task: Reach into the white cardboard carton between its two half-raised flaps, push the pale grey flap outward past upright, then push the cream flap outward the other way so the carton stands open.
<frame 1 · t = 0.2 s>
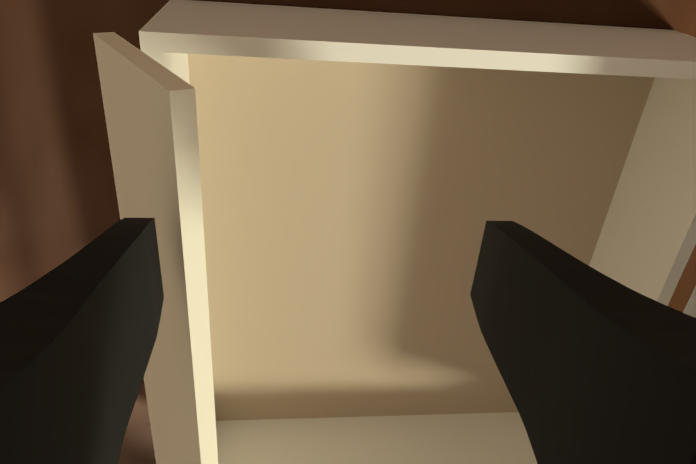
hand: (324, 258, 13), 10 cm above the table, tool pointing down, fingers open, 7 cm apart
carton: (402, 256, 25), on the table
cream flap: (174, 388, 17), point 8 cm above the table, hinge at 60.0°
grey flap: (684, 377, 20), point 8 cm above the table, hinge at 60.0°
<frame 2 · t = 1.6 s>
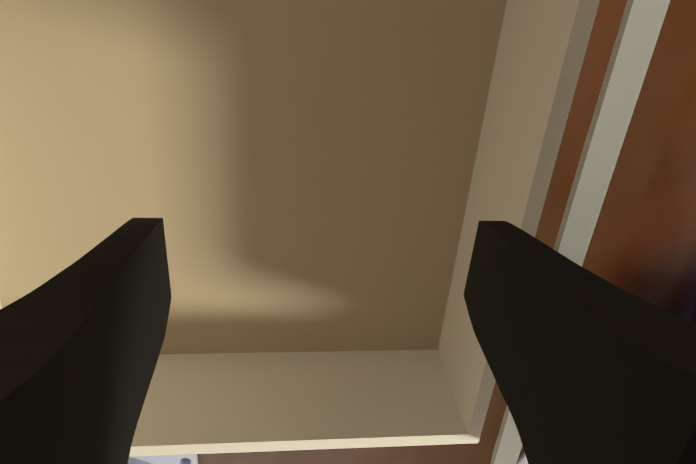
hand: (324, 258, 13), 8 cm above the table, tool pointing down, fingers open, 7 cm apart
carton: (230, 128, 19), on the table
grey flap: (567, 248, 14), point 8 cm above the table, hinge at 60.0°, touching gripper
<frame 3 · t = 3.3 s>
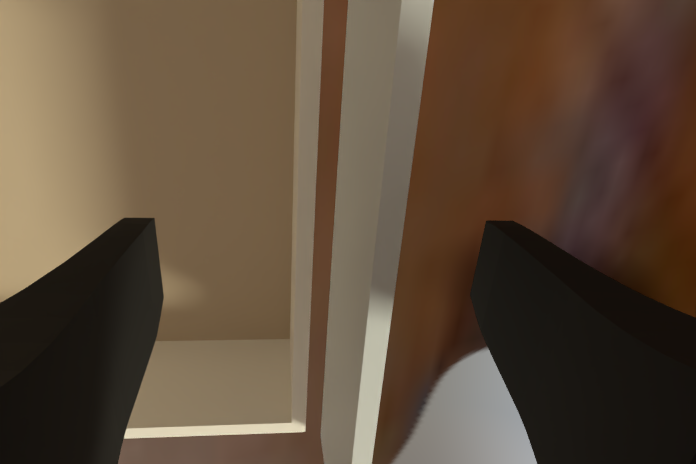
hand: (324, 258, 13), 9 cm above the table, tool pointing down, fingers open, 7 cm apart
carton: (36, 113, 19), on the table
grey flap: (360, 233, 14), point 8 cm above the table, hinge at 92.8°
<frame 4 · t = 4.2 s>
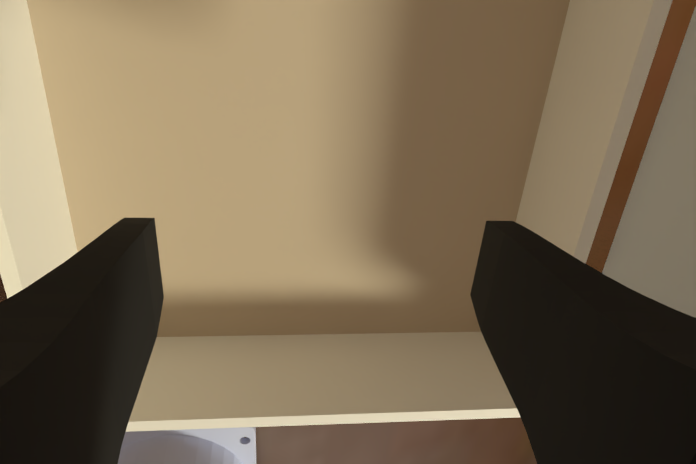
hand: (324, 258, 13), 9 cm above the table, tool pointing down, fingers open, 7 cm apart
carton: (306, 120, 20), on the table
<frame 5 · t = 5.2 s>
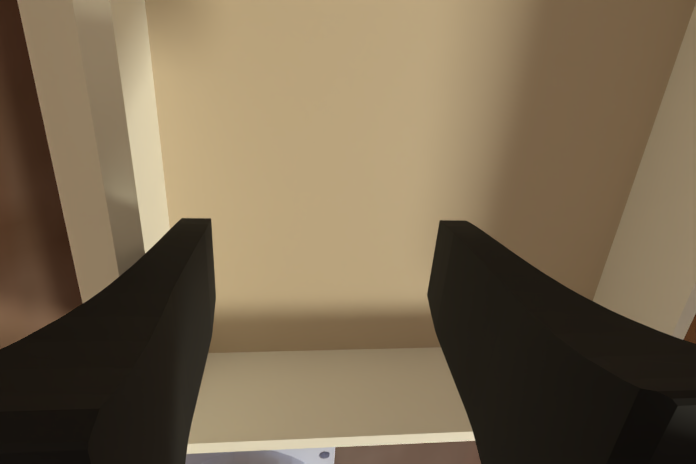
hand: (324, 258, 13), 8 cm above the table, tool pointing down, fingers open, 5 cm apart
carton: (413, 131, 20), on the table
cream flap: (100, 246, 12), point 8 cm above the table, hinge at 60.3°, touching gripper
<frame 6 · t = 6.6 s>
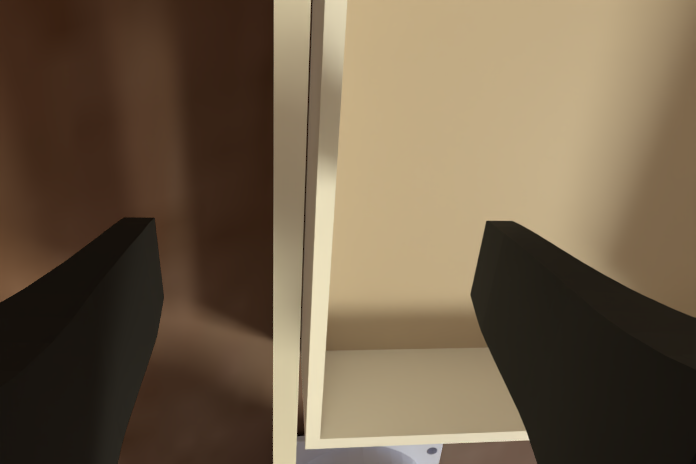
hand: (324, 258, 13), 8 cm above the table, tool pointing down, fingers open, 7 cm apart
carton: (558, 136, 20), on the table
cream flap: (286, 250, 13), point 8 cm above the table, hinge at 90.4°
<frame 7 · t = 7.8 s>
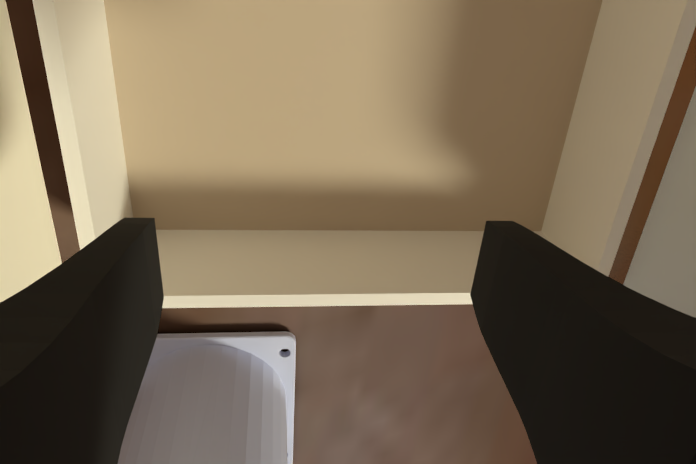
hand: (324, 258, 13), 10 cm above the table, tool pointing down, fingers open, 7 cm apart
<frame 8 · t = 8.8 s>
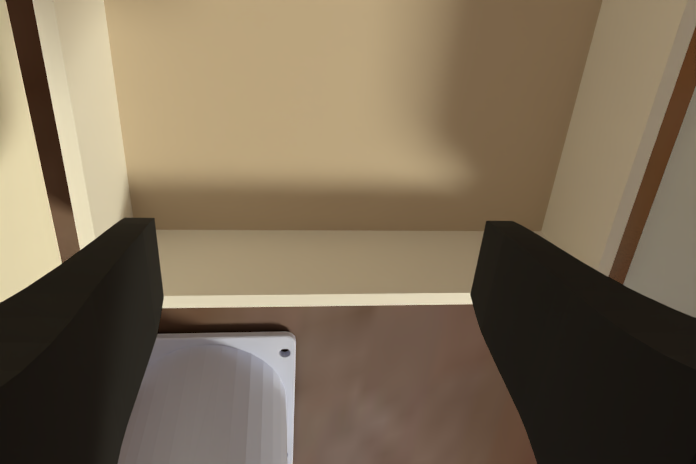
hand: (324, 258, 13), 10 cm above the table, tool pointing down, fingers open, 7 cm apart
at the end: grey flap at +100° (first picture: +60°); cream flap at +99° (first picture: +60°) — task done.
